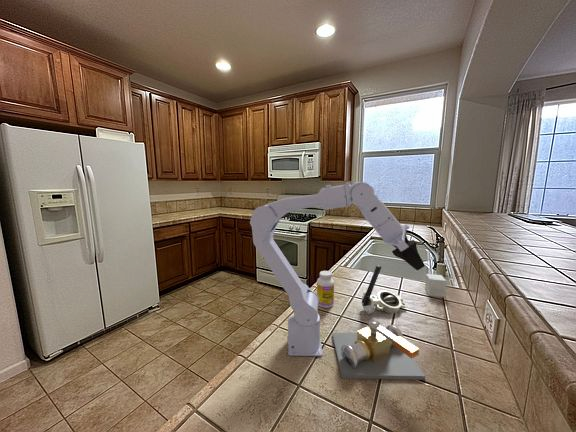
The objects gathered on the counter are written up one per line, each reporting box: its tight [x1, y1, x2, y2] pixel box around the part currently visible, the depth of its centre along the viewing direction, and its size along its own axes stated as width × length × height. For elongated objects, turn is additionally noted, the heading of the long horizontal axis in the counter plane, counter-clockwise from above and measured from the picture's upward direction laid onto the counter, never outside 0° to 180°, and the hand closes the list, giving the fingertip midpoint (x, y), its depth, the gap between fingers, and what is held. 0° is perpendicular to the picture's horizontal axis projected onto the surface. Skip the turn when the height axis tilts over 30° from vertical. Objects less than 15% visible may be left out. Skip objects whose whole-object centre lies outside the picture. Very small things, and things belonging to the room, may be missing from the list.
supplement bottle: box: [316, 270, 335, 309], centre depth 91 cm, size 7×7×13 cm
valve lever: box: [367, 318, 420, 359], centre depth 59 cm, size 13×3×2 cm, turn 28°
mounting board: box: [332, 332, 426, 381], centre depth 65 cm, size 20×16×1 cm
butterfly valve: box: [361, 265, 408, 315], centre depth 85 cm, size 9×20×17 cm
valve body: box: [341, 324, 405, 369], centre depth 65 cm, size 18×6×8 cm, turn 118°
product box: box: [424, 273, 447, 298], centre depth 99 cm, size 6×6×7 cm
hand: (416, 261), depth 60 cm, fingers open, 7 cm apart
